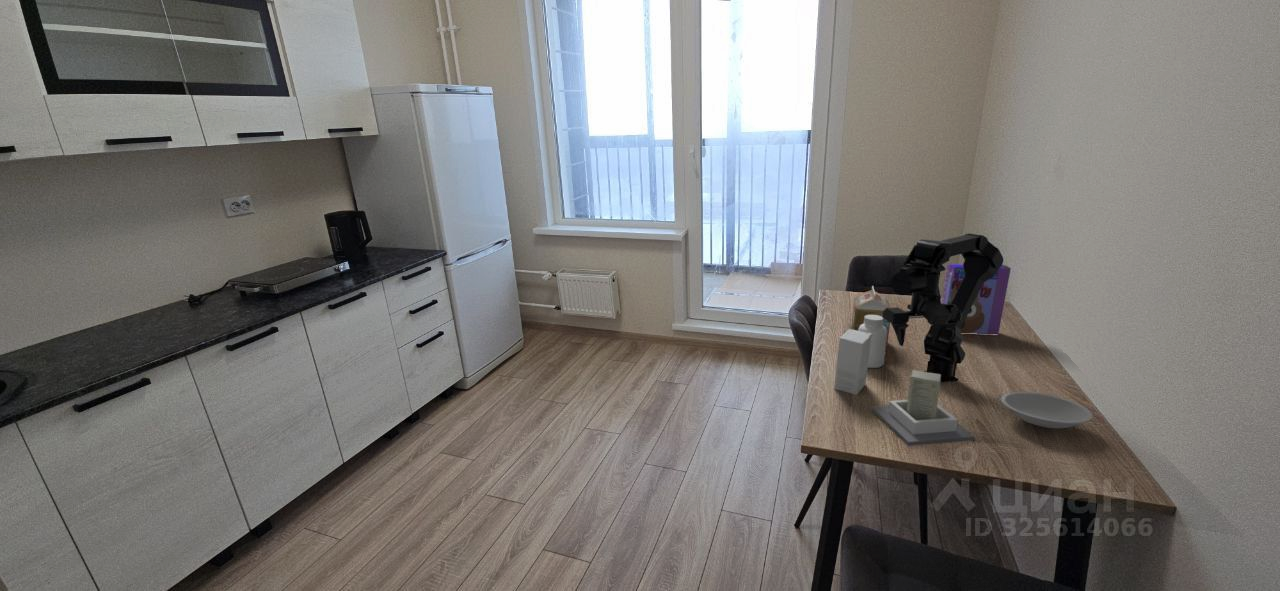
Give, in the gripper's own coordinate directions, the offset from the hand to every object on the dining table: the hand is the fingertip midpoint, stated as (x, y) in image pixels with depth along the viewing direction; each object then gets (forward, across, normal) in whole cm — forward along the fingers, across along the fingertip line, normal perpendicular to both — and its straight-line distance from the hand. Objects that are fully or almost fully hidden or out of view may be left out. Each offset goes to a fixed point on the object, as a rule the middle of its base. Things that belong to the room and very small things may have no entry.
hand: (917, 344), depth 140 cm
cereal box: (+13, +43, +36) cm, 58 cm away
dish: (+13, +19, -22) cm, 32 cm away
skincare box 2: (+12, -9, -18) cm, 23 cm away
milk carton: (+13, +4, +31) cm, 34 cm away
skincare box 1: (+13, -16, +3) cm, 21 cm away
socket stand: (+13, -9, -18) cm, 24 cm away
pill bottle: (+13, -3, +17) cm, 22 cm away
